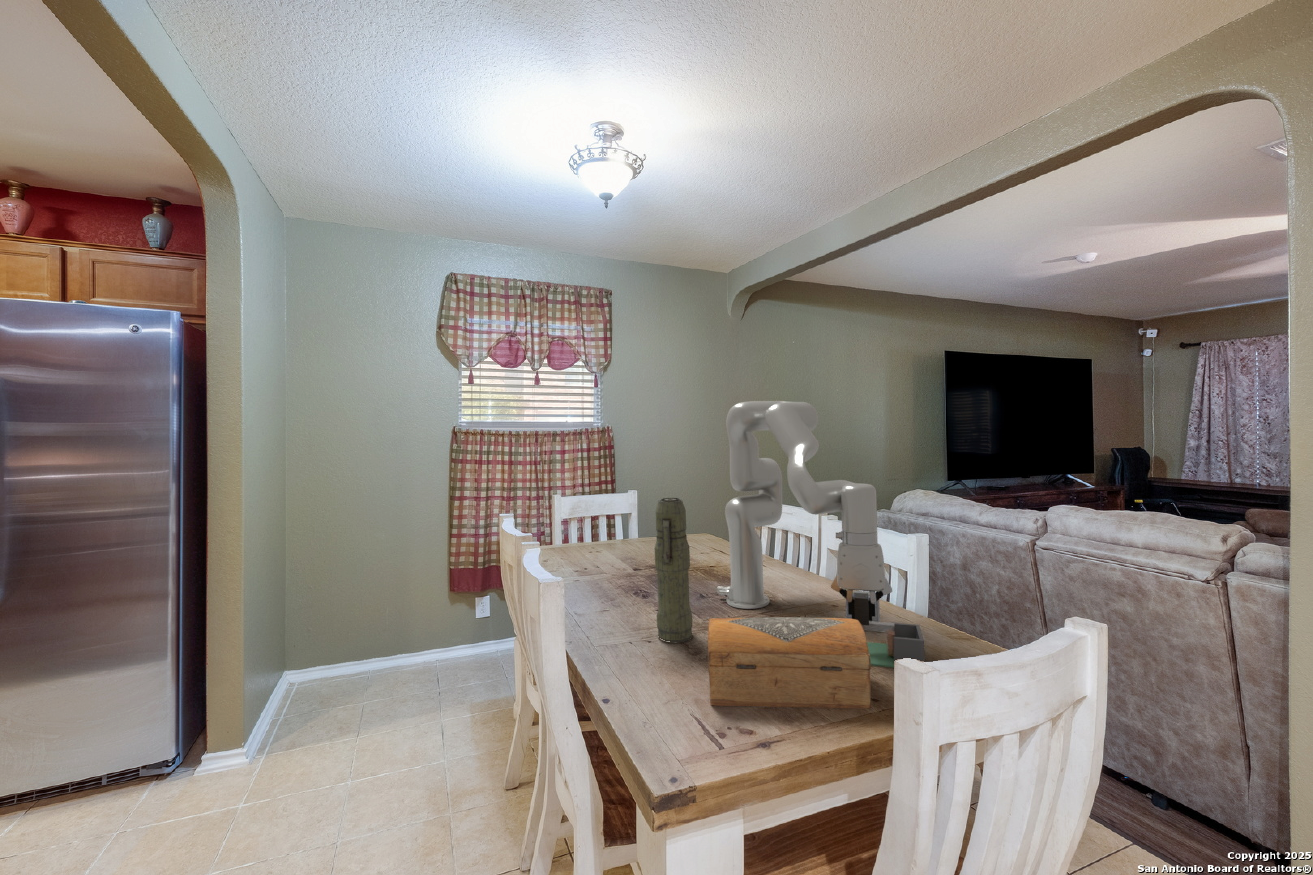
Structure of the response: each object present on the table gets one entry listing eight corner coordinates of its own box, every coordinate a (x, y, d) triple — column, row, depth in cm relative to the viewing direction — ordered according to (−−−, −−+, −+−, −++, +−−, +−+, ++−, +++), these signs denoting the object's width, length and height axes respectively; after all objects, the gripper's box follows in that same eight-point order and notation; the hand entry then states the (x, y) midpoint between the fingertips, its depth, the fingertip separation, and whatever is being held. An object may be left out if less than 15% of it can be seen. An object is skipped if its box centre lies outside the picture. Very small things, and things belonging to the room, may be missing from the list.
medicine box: (880, 625, 142) (879, 592, 142) (879, 631, 138) (878, 597, 138) (848, 622, 146) (847, 589, 145) (846, 628, 142) (845, 594, 141)
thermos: (694, 627, 145) (689, 495, 145) (690, 646, 134) (685, 502, 133) (661, 627, 147) (656, 496, 146) (654, 645, 135) (648, 502, 134)
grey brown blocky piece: (825, 649, 127) (824, 596, 126) (826, 642, 131) (824, 590, 131) (895, 656, 122) (894, 600, 121) (894, 648, 126) (893, 594, 126)
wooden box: (852, 671, 118) (851, 607, 118) (873, 712, 102) (871, 637, 101) (711, 668, 122) (709, 606, 121) (709, 707, 105) (706, 635, 105)
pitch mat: (850, 663, 121) (850, 661, 121) (850, 642, 133) (850, 640, 133) (920, 670, 117) (920, 668, 117) (914, 648, 128) (914, 646, 128)
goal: (894, 665, 119) (893, 638, 119) (891, 647, 128) (890, 622, 128) (925, 668, 117) (924, 640, 117) (920, 650, 126) (919, 624, 126)
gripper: (821, 540, 125) (823, 621, 125) (900, 543, 119) (902, 627, 120) (822, 533, 132) (825, 610, 132) (897, 536, 126) (899, 615, 127)
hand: (861, 617), depth 126 cm, fingers closed on grey brown blocky piece, 3 cm apart
